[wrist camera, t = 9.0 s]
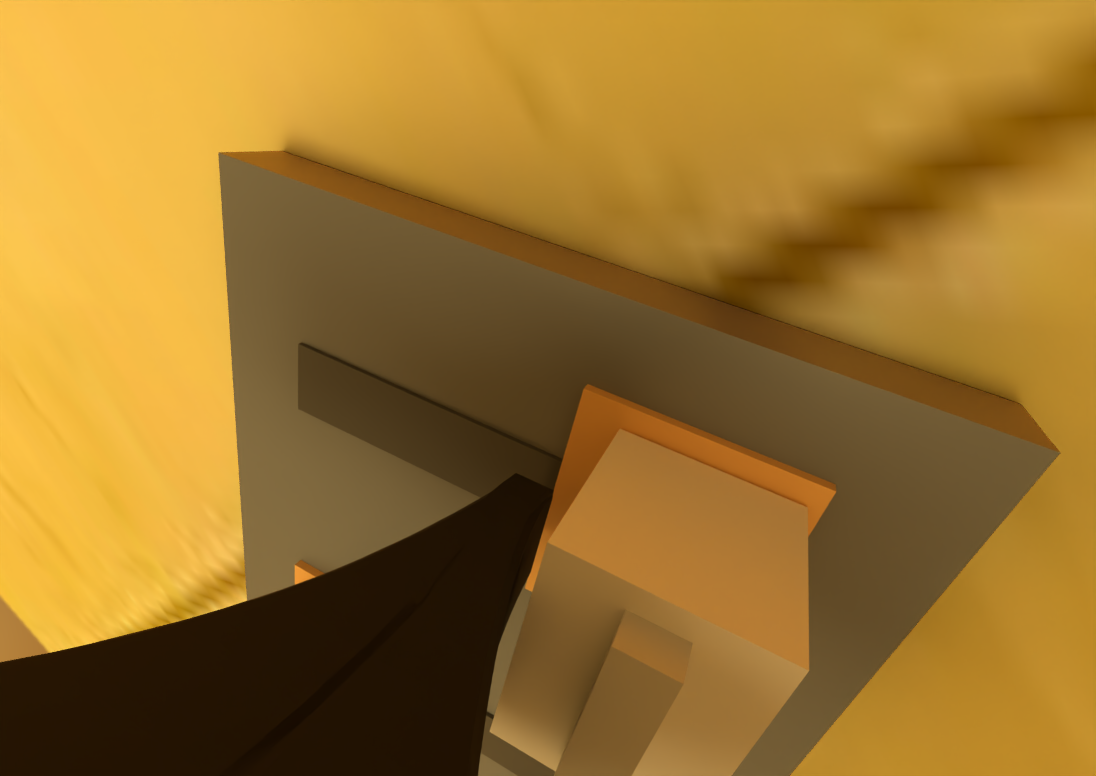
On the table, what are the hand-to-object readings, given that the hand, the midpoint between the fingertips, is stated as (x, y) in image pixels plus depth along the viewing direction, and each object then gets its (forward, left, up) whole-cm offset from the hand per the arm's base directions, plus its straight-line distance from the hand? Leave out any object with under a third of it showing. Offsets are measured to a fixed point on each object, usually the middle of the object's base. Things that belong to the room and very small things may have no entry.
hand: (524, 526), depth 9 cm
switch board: (+1, +8, -3) cm, 8 cm away
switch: (-2, 0, -1) cm, 3 cm away
